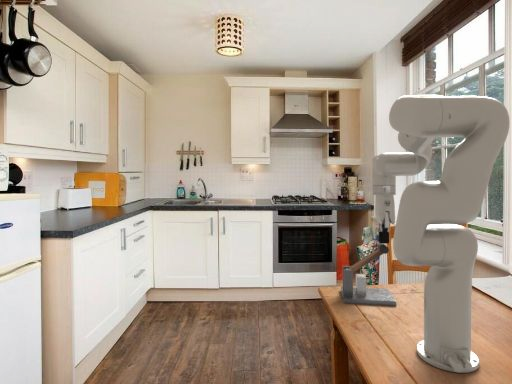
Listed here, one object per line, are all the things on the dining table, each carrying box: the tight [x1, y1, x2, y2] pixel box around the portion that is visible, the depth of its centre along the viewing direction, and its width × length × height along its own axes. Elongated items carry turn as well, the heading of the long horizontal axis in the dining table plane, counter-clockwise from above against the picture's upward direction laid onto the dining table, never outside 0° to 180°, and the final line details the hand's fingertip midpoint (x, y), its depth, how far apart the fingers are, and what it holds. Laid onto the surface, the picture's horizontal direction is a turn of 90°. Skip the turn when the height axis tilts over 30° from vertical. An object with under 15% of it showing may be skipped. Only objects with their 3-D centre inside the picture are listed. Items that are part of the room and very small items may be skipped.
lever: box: [347, 242, 390, 274], centre depth 112 cm, size 6×17×3 cm
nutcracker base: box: [340, 265, 397, 307], centre depth 112 cm, size 12×17×10 cm
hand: (383, 242), depth 110 cm, fingers closed
